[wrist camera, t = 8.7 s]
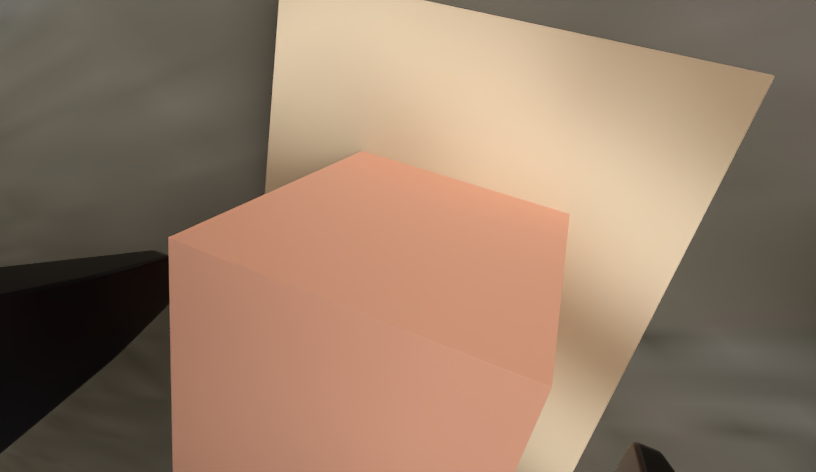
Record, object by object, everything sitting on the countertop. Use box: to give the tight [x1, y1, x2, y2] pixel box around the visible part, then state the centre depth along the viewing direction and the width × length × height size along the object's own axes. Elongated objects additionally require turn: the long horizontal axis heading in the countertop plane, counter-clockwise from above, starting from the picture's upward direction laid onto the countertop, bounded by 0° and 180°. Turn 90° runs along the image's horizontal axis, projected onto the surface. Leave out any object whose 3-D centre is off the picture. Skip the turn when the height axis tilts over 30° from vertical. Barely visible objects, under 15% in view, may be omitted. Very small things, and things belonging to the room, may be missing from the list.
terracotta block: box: [168, 151, 570, 472], centre depth 9 cm, size 5×5×6 cm
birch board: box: [265, 0, 775, 472], centre depth 12 cm, size 12×10×1 cm
